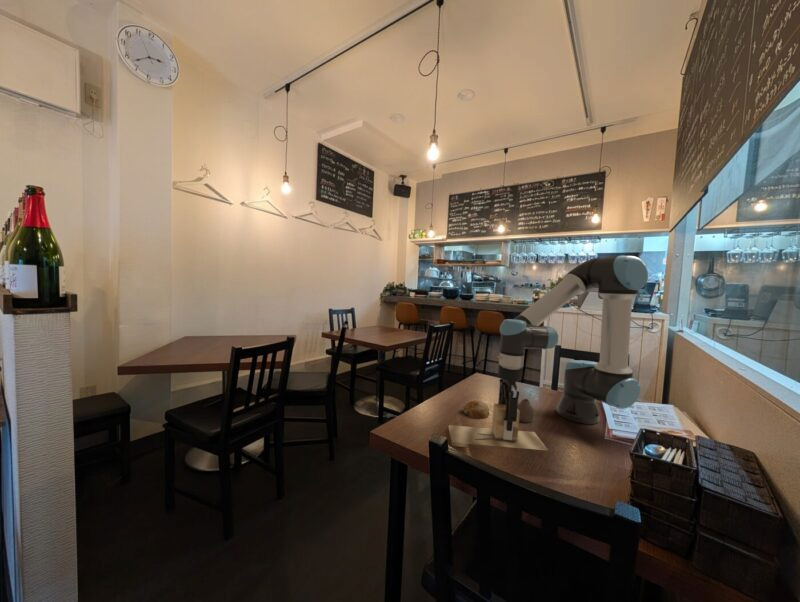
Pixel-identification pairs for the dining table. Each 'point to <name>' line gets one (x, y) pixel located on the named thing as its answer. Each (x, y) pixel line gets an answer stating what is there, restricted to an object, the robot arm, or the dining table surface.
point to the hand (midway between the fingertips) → (504, 434)
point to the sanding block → (499, 422)
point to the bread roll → (476, 409)
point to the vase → (525, 411)
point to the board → (492, 438)
